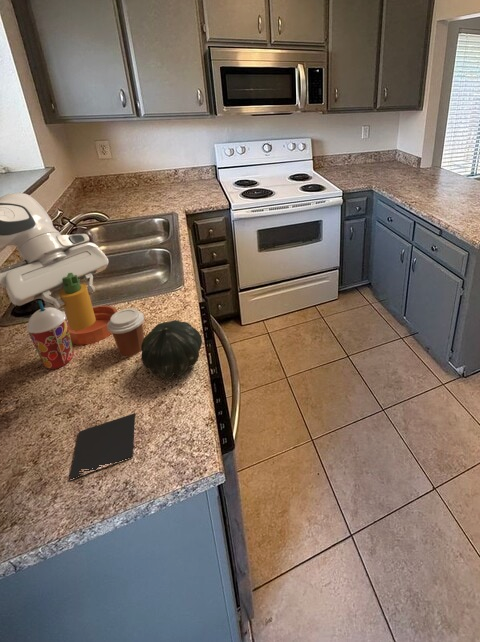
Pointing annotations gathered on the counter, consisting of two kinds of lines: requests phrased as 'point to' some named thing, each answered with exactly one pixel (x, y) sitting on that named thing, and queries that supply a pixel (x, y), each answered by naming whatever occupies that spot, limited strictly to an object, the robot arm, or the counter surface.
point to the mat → (104, 444)
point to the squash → (171, 348)
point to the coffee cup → (127, 331)
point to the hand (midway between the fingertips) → (77, 299)
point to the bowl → (94, 327)
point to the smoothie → (51, 336)
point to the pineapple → (77, 303)
